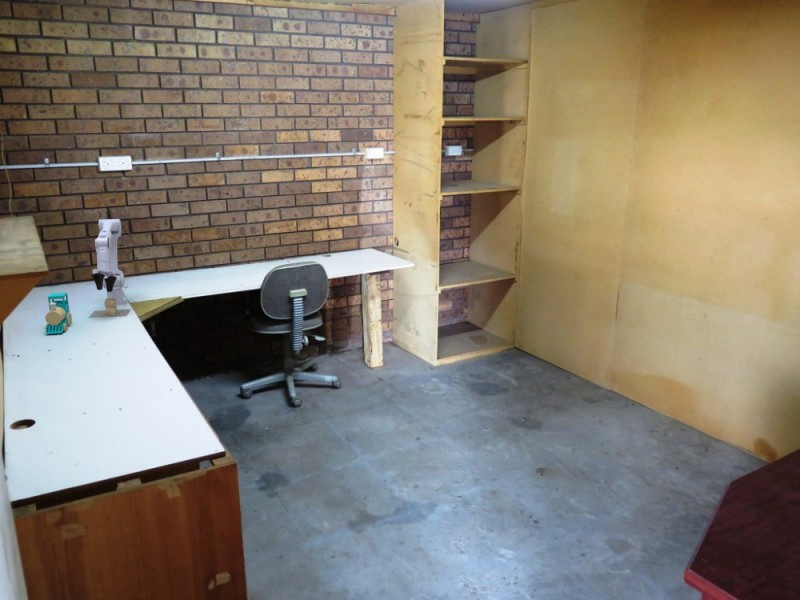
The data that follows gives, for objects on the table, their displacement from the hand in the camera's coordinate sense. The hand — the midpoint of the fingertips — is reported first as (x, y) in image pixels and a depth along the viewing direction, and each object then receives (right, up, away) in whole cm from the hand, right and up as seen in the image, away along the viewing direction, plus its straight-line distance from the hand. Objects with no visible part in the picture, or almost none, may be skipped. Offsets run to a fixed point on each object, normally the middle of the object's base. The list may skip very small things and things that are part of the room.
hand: (104, 290), depth 289 cm
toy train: (-14, -18, -14) cm, 26 cm away
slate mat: (-2, -11, +11) cm, 16 cm away
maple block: (-1, -11, +9) cm, 14 cm away
